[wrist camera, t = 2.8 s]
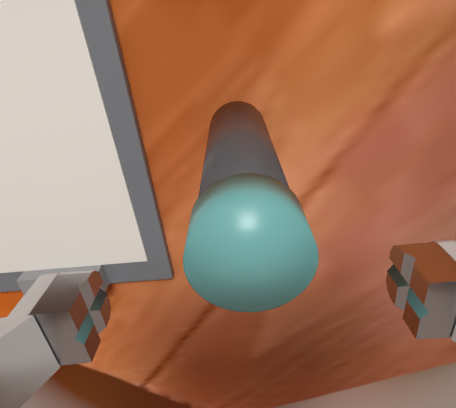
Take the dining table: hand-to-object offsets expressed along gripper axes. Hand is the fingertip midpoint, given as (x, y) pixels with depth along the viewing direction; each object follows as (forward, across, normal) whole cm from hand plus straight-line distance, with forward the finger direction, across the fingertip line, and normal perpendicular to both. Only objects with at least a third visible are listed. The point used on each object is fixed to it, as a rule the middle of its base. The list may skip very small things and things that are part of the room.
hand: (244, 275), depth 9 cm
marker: (+13, 0, -1) cm, 13 cm away
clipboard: (+13, +14, -1) cm, 19 cm away
